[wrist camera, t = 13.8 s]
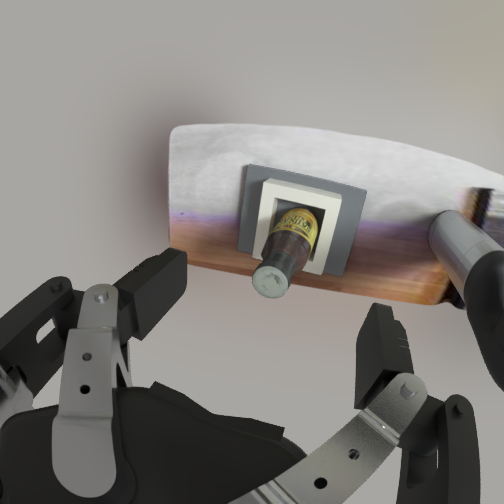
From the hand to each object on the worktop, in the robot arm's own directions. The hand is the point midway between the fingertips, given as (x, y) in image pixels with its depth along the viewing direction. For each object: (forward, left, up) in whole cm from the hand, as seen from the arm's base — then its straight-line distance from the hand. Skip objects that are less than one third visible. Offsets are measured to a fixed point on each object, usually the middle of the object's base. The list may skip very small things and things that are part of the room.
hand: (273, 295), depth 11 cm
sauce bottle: (+2, +9, -35) cm, 36 cm away
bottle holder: (+2, +9, -36) cm, 37 cm away
